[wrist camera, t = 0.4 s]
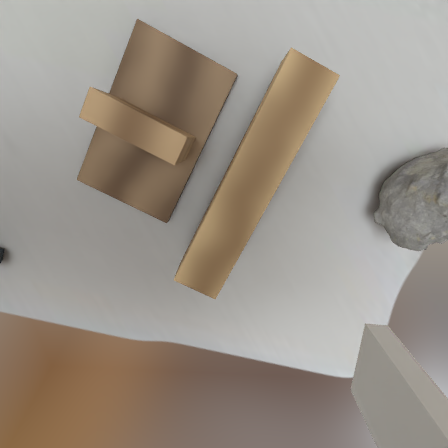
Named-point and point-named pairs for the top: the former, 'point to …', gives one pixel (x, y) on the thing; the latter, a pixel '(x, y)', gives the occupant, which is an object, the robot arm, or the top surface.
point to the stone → (416, 202)
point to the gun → (1, 254)
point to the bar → (256, 171)
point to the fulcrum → (152, 121)
